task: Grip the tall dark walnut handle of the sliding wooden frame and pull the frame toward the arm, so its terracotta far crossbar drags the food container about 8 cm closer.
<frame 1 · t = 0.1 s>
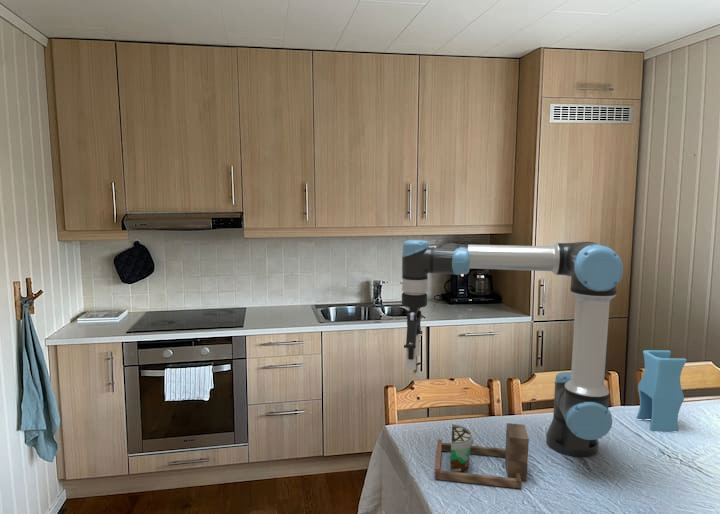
hand: (413, 362, 154), 28 cm above the table, tool pointing down, fingers open, 13 cm apart
vase: (657, 425, 175), on the table
walnut sled: (480, 447, 146), point 6 cm above the table, slide at 0.0 cm
food container: (461, 467, 148), resting in walnut sled
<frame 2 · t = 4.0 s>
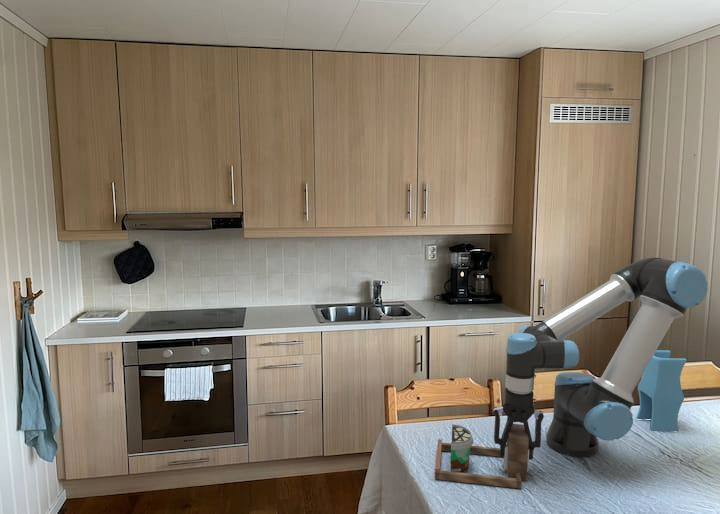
hand: (515, 467, 145), 1 cm above the table, tool pointing down, fingers closed on walnut sled, 5 cm apart
walnut sled: (480, 447, 146), point 6 cm above the table, slide at 0.0 cm, touching gripper
everything else where it was.
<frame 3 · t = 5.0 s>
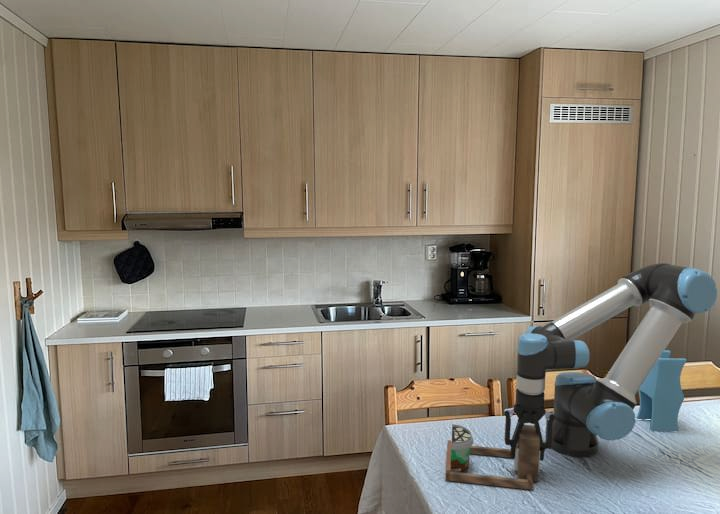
hand: (526, 469, 144), 1 cm above the table, tool pointing down, fingers closed on walnut sled, 5 cm apart
walnut sled: (491, 448, 145), point 6 cm above the table, slide at 2.9 cm, touching food container, gripper
food container: (461, 467, 148), resting in walnut sled
everything else where it was.
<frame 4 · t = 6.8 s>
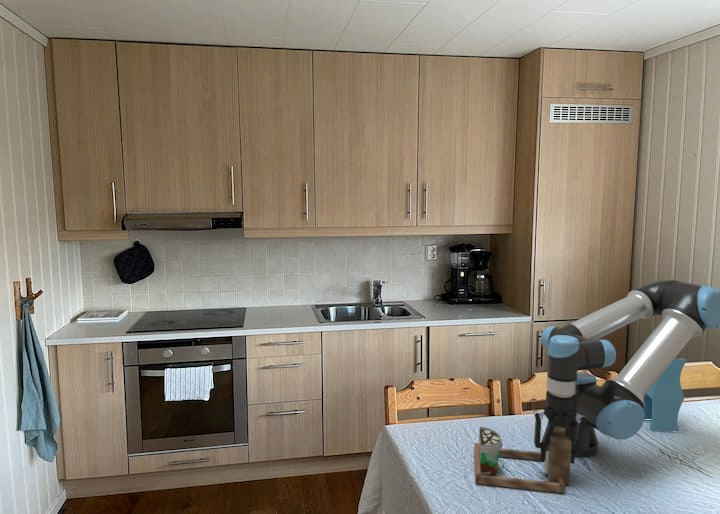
hand: (556, 472, 143), 1 cm above the table, tool pointing down, fingers closed on walnut sled, 5 cm apart
walnut sled: (520, 451, 144), point 6 cm above the table, slide at 11.0 cm, touching gripper
food container: (490, 470, 146), resting in walnut sled
everything else where it was.
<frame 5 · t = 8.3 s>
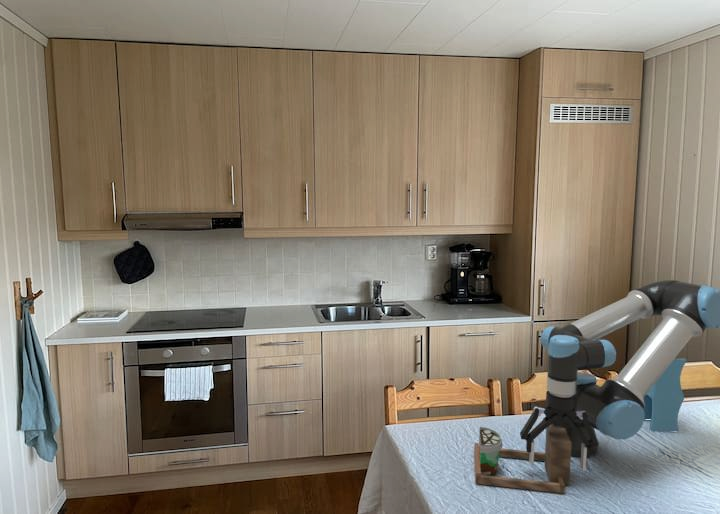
hand: (556, 465, 142), 3 cm above the table, tool pointing down, fingers open, 13 cm apart
walnut sled: (520, 451, 144), point 6 cm above the table, slide at 11.0 cm
everything else where it was.
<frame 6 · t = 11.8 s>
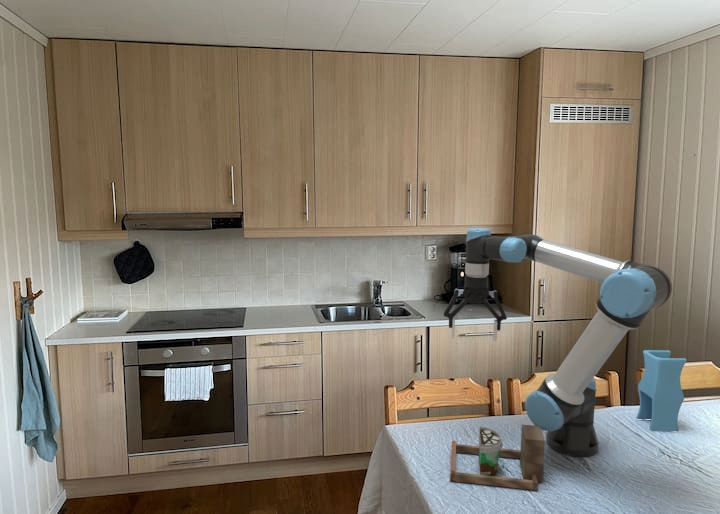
hand: (473, 338, 170), 31 cm above the table, tool pointing down, fingers open, 13 cm apart
walnut sled: (495, 449, 145), point 6 cm above the table, slide at 4.2 cm
everything else where it was.
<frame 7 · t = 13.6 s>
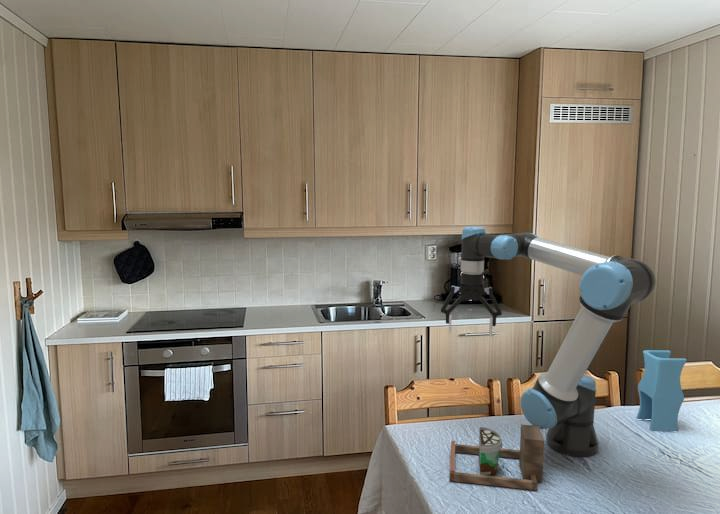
hand: (470, 334, 175), 31 cm above the table, tool pointing down, fingers open, 13 cm apart
walnut sled: (495, 449, 145), point 6 cm above the table, slide at 4.0 cm, touching arm
everything else where it was.
at the end: food container moved 8.1 cm from its start; food container inside the target area (0.6 cm from its centre), resting in walnut sled; food container tilted 0° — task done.
